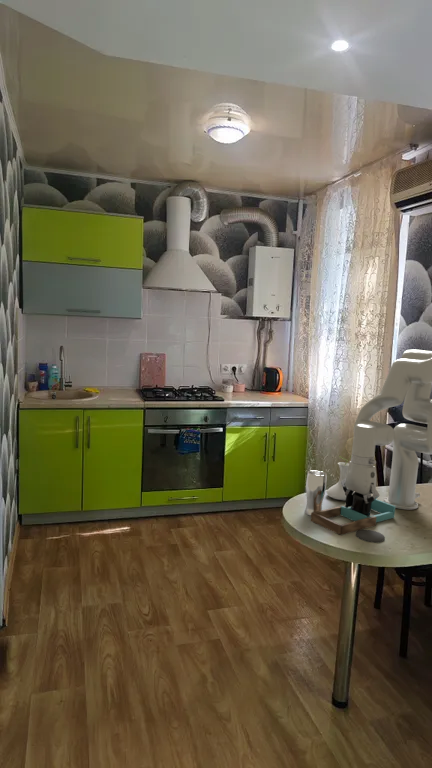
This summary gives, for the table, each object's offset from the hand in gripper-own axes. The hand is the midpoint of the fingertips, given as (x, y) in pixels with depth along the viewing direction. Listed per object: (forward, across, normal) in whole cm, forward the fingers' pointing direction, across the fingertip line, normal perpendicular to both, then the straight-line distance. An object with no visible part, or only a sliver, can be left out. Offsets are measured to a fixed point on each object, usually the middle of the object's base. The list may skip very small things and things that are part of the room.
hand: (357, 509), depth 181 cm
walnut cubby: (+4, 0, +7) cm, 8 cm away
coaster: (+4, -12, +8) cm, 15 cm away
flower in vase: (+4, +18, -14) cm, 23 cm away
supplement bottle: (+4, 0, -2) cm, 4 cm away
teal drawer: (+4, 0, -5) cm, 7 cm away
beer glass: (+4, +11, +10) cm, 15 cm away
